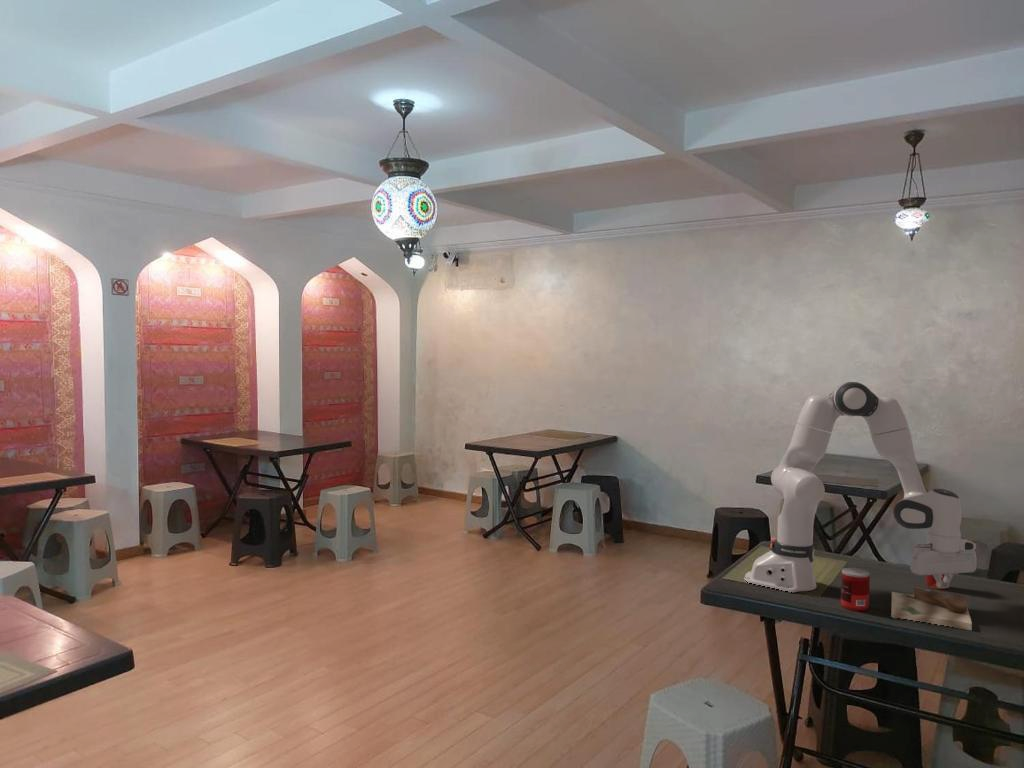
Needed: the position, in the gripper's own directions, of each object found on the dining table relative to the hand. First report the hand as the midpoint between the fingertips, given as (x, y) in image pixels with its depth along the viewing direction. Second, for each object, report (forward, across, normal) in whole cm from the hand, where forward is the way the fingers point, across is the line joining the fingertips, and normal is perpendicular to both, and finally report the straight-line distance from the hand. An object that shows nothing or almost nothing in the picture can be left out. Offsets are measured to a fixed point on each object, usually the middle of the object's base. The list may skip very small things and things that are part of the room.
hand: (942, 587), depth 226 cm
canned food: (+5, -28, +2) cm, 29 cm away
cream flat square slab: (+6, -9, -6) cm, 12 cm away
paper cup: (+6, +11, +16) cm, 20 cm away
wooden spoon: (+3, -5, -6) cm, 8 cm away
